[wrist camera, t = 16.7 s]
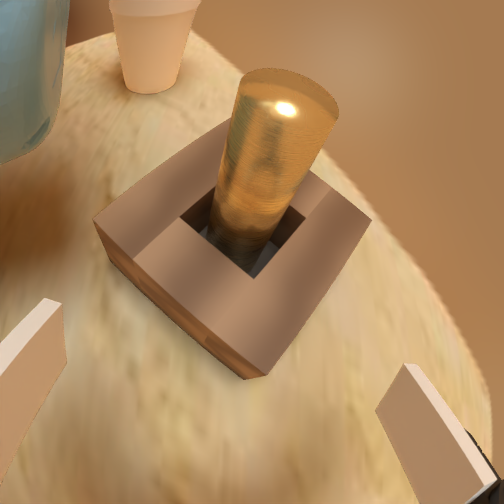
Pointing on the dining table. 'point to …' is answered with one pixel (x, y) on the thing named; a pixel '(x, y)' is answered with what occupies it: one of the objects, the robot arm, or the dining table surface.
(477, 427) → the dining table surface
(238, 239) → the brass peg
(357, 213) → the walnut socket block
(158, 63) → the foam cup
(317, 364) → the dining table surface
